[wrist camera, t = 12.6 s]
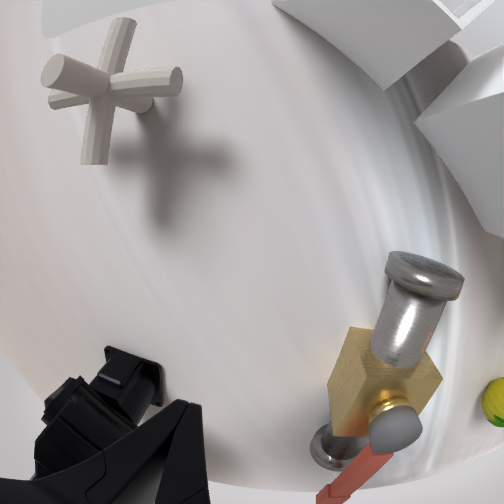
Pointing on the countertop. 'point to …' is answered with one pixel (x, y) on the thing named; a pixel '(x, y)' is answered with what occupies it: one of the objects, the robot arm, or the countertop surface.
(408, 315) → the valve body
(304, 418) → the countertop surface
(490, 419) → the lemon
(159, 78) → the pipe connector
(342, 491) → the lever
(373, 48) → the storage container
